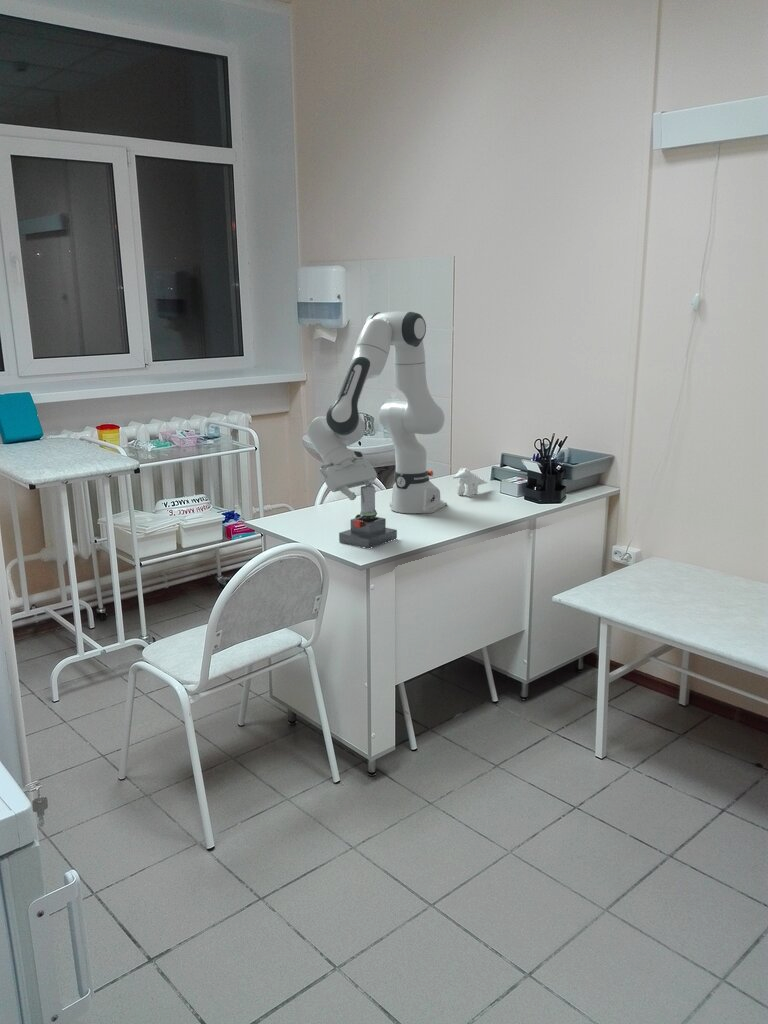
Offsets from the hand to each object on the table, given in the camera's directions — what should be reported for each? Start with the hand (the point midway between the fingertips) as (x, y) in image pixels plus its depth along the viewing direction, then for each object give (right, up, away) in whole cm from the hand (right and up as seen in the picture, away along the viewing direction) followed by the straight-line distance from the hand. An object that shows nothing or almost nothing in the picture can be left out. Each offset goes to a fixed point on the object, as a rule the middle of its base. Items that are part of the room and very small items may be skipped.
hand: (363, 496), depth 255 cm
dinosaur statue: (+40, +2, +66) cm, 77 cm away
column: (+1, -11, +2) cm, 11 cm away
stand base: (+1, -14, +3) cm, 14 cm away
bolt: (-1, -10, +22) cm, 24 cm away
